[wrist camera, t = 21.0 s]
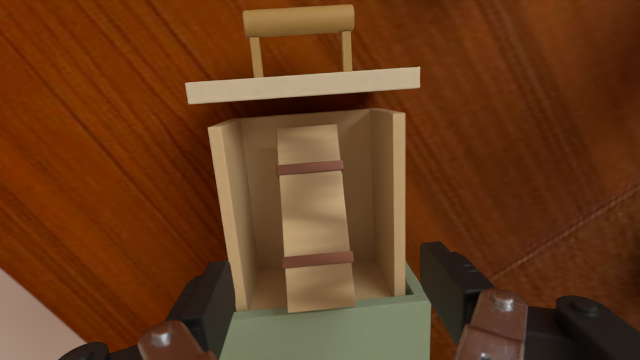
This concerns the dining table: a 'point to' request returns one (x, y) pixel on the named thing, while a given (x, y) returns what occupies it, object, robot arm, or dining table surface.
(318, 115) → the drawer
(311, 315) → the cabinet
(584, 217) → the dining table surface
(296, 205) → the bundle
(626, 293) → the dining table surface
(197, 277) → the robot arm
